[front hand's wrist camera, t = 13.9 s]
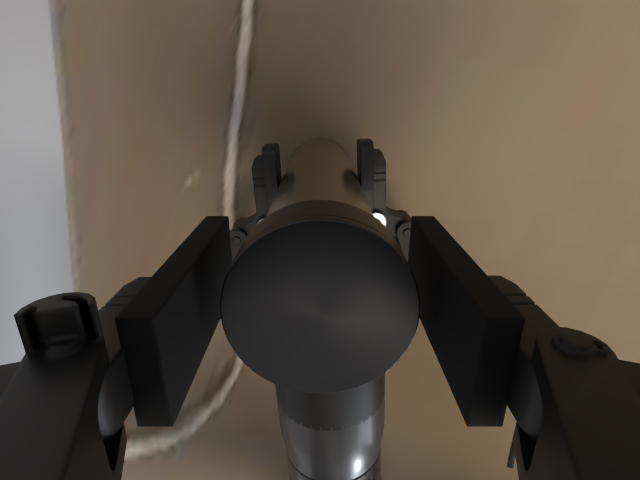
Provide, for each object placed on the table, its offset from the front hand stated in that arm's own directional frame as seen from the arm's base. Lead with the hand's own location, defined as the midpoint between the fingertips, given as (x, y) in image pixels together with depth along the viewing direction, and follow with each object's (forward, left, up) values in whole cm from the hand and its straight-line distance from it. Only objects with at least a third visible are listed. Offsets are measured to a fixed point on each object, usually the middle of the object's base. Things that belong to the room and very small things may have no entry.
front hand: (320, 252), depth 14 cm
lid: (0, 0, +4) cm, 4 cm away
